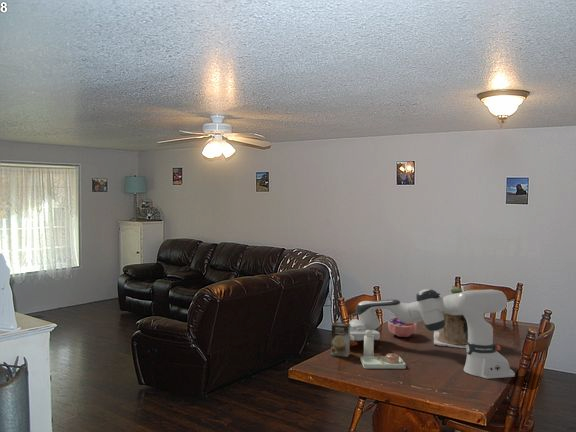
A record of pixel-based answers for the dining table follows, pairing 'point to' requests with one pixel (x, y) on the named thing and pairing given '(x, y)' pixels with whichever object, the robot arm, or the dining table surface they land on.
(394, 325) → the cell model
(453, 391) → the dining table surface
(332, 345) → the coffee box
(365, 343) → the bottle
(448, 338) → the cookie jar
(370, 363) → the tray
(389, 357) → the sugar pot
